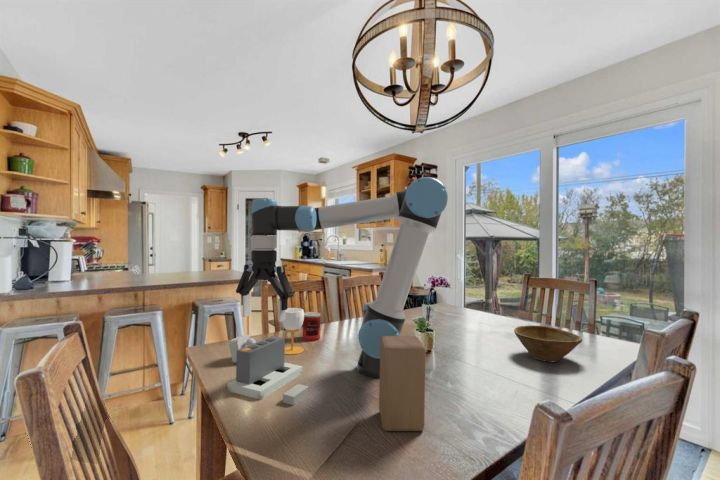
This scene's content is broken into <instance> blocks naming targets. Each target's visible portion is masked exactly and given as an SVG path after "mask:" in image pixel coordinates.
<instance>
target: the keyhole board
mask: <svg viewBox="0 0 720 480" xmlns="http://www.w3.org/2000/svg"><path fill="white" fill-rule="evenodd" d="M277 370H278V371H277ZM277 370H275V371H273V372H272V373H270V374H268V375H266V376H264V377H263V378H261V379H259V380H257V381H256V382H258V381H259V382H260V381H262V382H264V383H263V384H262V385H259V384H250V385H249V384H245V383H241V382H237V381H236V378H235V379H233V380H231V381H229V382H227V392H229V393H234V394H238V395H240V396H241V395H242V396H244V397H245V396H246V397H248V398H252V399H257V400H259V401H260V400H263V399H265V398H266V397H267V396H269V395H270V394H273V393H274V392H275V391H277V390H279V389H280V388H281V387H283V386H285V385H286V384H288V383H290V382H292V381H293V380H294V379H296V378H298V377H299V376H300V375H302V374H304V373H303V371H304V368H303V365H298V364H293V363H290V362H289V363H288V362H284V366H282V367H281V368H279V369H277ZM280 371H282V372H280Z"/></svg>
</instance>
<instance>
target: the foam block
mask: <svg viewBox="0 0 720 480" xmlns="http://www.w3.org/2000/svg"><path fill="white" fill-rule="evenodd" d="M309 388H310V387H309V386H308V385H304V384H300V383H297V384H296V385H294V386H292V387H291V388H290V389H288V390H287V391H285V392H284V393H283V394H282V403H284V404H288V405H291V406H295V405H297V404H298V403H299V402H300V401H302V400H303V399H304V398H306V397H308V395H309V394H310V393H309V390H310V389H309Z"/></svg>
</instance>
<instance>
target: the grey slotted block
mask: <svg viewBox="0 0 720 480" xmlns="http://www.w3.org/2000/svg"><path fill="white" fill-rule="evenodd" d="M285 339H286V338H285V337H281V336H274V335H272V336H269V337H266V338H263V339H261V340H259V341H257V342H256V341H255V342H256V343H254V344H251V345H249V346H246V347H244V348H241V349H239V350H237V355H236V363H235V365H236V370H235V379H236V381H237V382H241V383H245V384H249V385H250V384H254V383H255V382H258V381H260V380H259V379H261V378H263V377H264V376H266V375H268V374H270V373H272V372H273V371H277V369H279V368H281V367H282V366H284V363H285V355H286V354H285V347H286V343H285V341H286V340H285ZM257 380H258V381H257Z"/></svg>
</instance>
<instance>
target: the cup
mask: <svg viewBox="0 0 720 480" xmlns="http://www.w3.org/2000/svg"><path fill="white" fill-rule="evenodd" d="M304 313H305V311H304V309H302V308H300V307H299V308H298V307H289V308H288V307H287V310H286V316H285V320H284V321H281V323H282V326H283V328H284V330H286V332H288V333H291V340H290V341H291V344H290V346H285V355H287V356H288V355H290V356H292V355H299V354H301V353H303V352H304V351H305V349H304V348H303V347H301V346H295V345H294V335H295V333H297V332H299V330H300V329H301V328H302V327H303V320H304Z"/></svg>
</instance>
